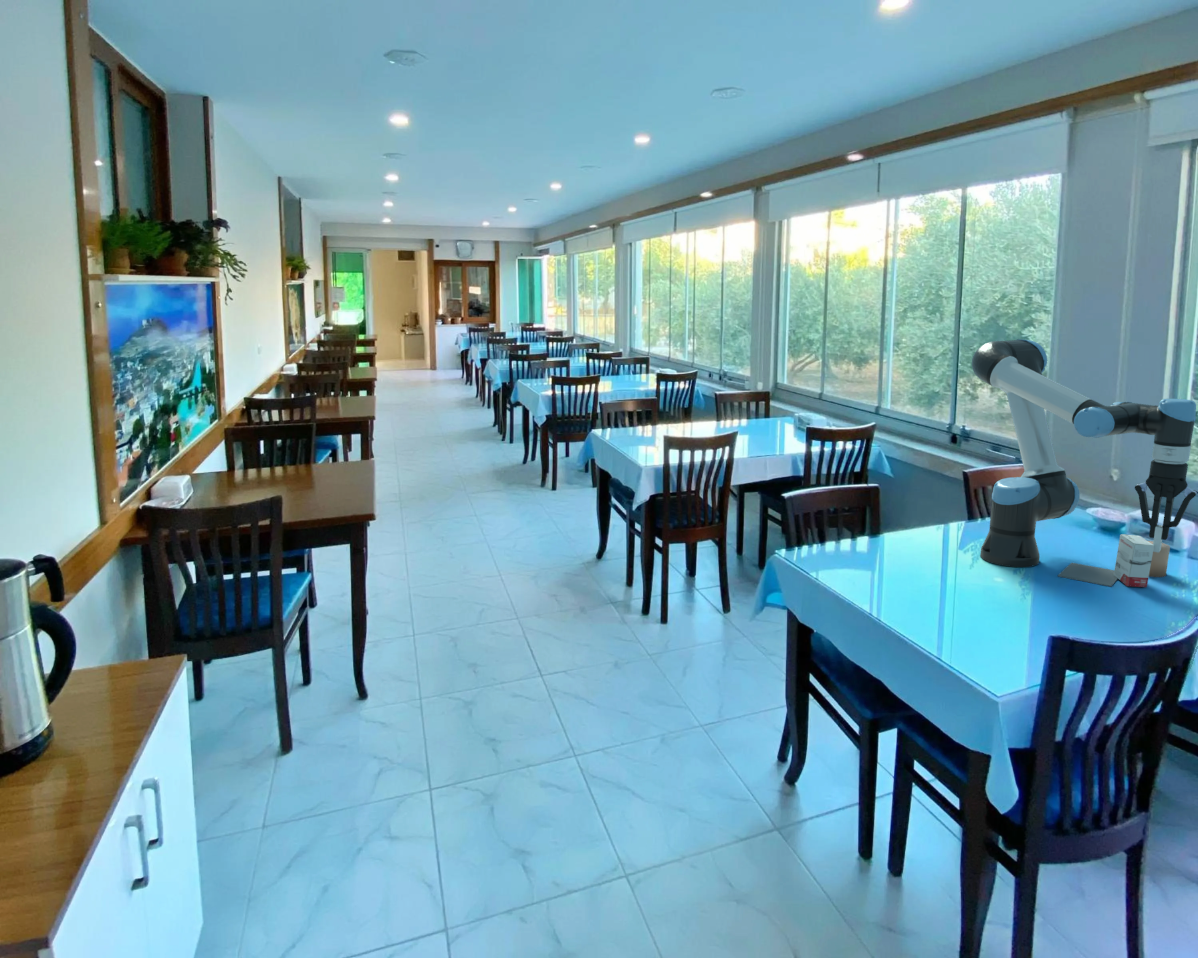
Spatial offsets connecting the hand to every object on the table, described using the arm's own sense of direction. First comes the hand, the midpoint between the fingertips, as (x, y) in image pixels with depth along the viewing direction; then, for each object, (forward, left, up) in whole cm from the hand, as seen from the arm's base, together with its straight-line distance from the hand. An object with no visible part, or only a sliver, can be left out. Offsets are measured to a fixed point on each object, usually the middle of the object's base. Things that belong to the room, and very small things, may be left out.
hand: (1156, 550), depth 198 cm
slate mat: (-14, 0, -10) cm, 17 cm away
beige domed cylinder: (-2, +12, -10) cm, 16 cm away
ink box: (-5, 0, -10) cm, 11 cm away
